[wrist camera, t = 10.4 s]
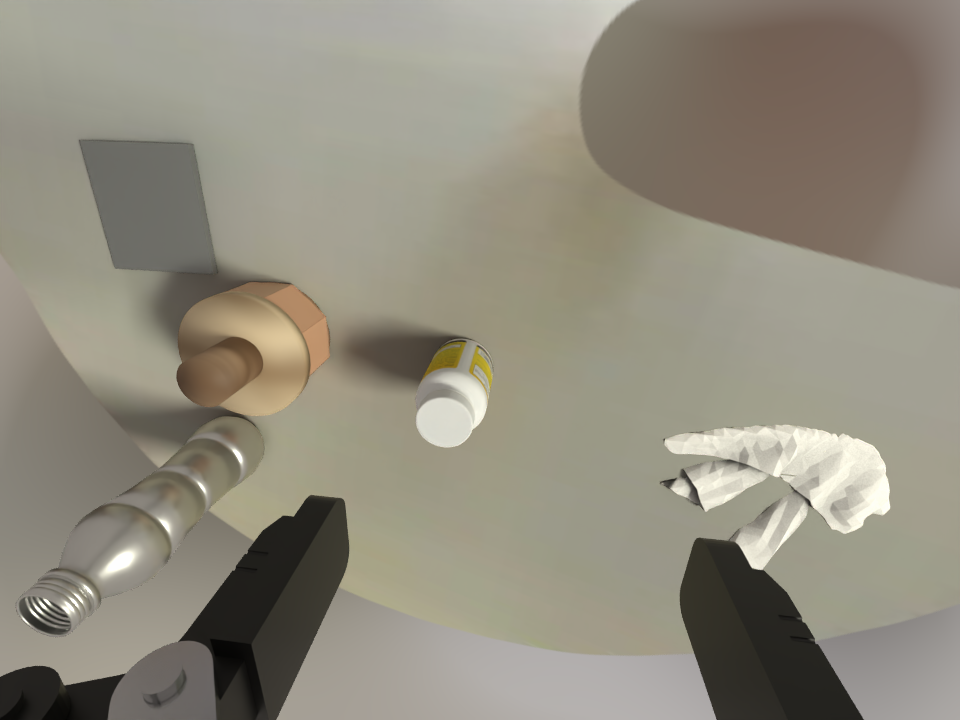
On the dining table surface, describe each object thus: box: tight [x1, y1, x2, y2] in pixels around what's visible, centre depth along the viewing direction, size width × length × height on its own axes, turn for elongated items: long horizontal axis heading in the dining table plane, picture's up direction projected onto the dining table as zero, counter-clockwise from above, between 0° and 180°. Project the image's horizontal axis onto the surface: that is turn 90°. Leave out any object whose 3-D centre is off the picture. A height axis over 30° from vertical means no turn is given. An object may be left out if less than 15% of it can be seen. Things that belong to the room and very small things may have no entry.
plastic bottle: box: [16, 416, 264, 637], centre depth 36 cm, size 6×7×20 cm
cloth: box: [660, 425, 890, 570], centre depth 41 cm, size 20×22×2 cm
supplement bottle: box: [416, 339, 493, 447], centre depth 35 cm, size 5×5×10 cm
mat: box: [79, 140, 218, 274], centre depth 37 cm, size 10×9×1 cm
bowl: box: [226, 282, 330, 376], centre depth 38 cm, size 9×9×5 cm
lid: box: [177, 291, 311, 416], centre depth 33 cm, size 10×10×6 cm
